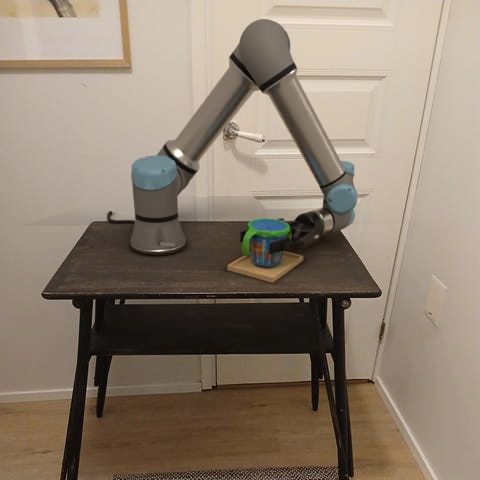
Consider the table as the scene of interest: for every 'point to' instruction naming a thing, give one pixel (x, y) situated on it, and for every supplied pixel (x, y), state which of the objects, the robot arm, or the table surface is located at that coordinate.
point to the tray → (265, 267)
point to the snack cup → (265, 240)
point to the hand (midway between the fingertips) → (255, 242)
